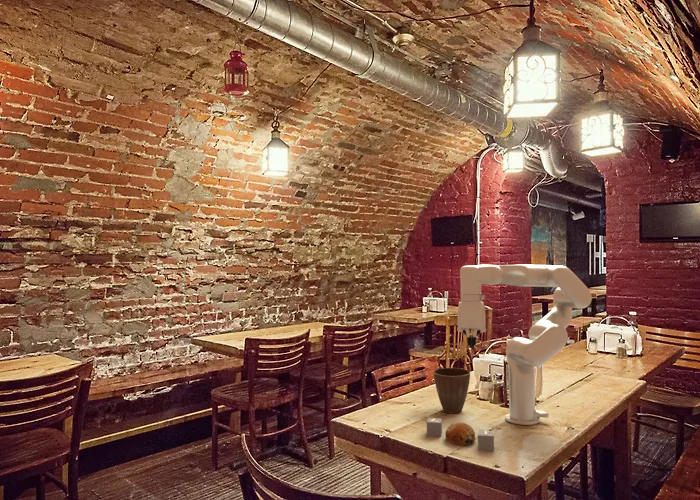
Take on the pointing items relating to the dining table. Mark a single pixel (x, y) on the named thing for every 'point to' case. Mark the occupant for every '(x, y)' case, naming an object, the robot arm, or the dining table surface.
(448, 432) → the bread roll
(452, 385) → the plant pot
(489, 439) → the numbered block 1
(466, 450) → the dining table surface
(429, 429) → the numbered block 7
